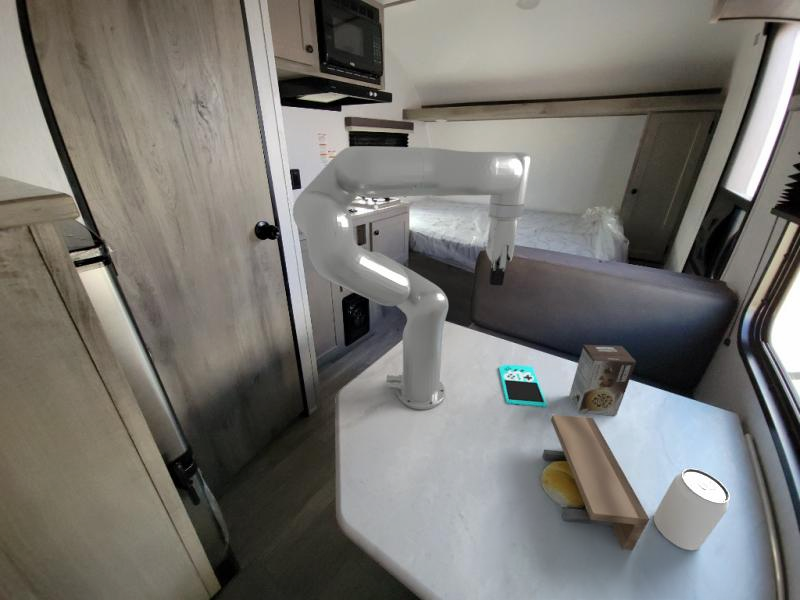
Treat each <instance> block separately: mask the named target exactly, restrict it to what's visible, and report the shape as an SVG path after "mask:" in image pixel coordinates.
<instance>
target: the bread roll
mask: <svg viewBox="0 0 800 600" xmlns="http://www.w3.org/2000/svg"><path fill="white" fill-rule="evenodd" d="M540 483H541V486H542V488H543V491H544V493H546V495H548V497H550V498H551V500H552V501H554V502H555V503H556V504H558V505H559V506H560V507H562V508H563V509H564V508H568V509H577V510H579V509H581V508H583V507H586V506H585V504H584V501H583V499H582V496H581V494H580V491H579V489H578V486H577V484H576V481H575V479H574V476H573V474H572V472H571V469H570V467H569V464H568V462H567V461H552V462H551V463H549V464H548V465H547V466H546V467H545V468H544V469H543V472H542V473H541V477H540Z"/></svg>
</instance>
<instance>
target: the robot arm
mask: <svg viewBox="0 0 800 600" xmlns="http://www.w3.org/2000/svg"><path fill="white" fill-rule="evenodd" d="M531 162H532V159H531V156H530V154H529V153H527V152H519V151H518V152H517V151H513V152H510V151H508V152H507V151H506V152H505V151H463V150H455V149H447V148H441V147H439V148H438V147H422V146H421V147H417V146H416V147H415V146H413V147H412V146H411V147H409V146H407V147H405V146H378V145H377V146H369V145H367V146H366V145H365V146H363V145H362V146H359V145H358V146H357V145H355V146H348V147H345V148H344V149H342V150H341V151H339V152H338V153H337V154H336V155H335V156H334V157H333V158H332V159H331V160H330V161H329V162H328V164H326V166H325V167H324V168H322V169H321V171H320V172H319V173H318V174H317V175H316V176H315V177H314V178H313V179H312V181H311V182H310V183H309V184H308V185H307V186H305V188H304V189H303V190H302V192H301V193H300V194H299V195H298V196H297V198H296V199H295V201H294V204H293V207H292V217H293V221H294V223H295V225H296V227H297V228H298V229H299V230H300V231H301V232H302V233H303V234H304V235H305V240H306V244H307V251H308V257H309V259H310V261H311V264H312V266H313V267H314V269H315V270H316V271H317V273H318V274H319V275H320V276H321V277H323V278H324V279H325V280H328V281H330V282H331V283H334V284H336V285H338V286H340V287H343V288H344V289H347V290H348V291H351V292H353V293H355V294H357V295H359V296H361V297H364V298H366V299H368V300H370V301H372V302H374V303H377V304H378V305H381V306H384V307H385V306H386V307H395V306H396V307H397V308H398V309H399V310H401V312H403V313H404V315H405V316H406V324H405V326H404V328H403V331H402V374H398V375H393V374H391V375H390V374H387V375H386V381H385V382H386V383H389V388H390V389H396V393H397V398H398V399H399V401H400V402H401V403H402V404H403V405H405V406H407V407H409V408H411V409H413V410H414V409H415V410H422V411H424V410H431V409H433V408H436V407H437V406H439V405H441V403H442V402H443V401H444V399H445V394H446V389H445V386H444V384H443V383H442V382H441V381H440V380H441V364H442V351H443V350H442V348H443V346H442V345H443V332H444V327H445V321H446V318H447V314H448V312H449V300H448V297H447V295H446V293H445V292H444V291H443V290H442V288H440V287H439V286H438V285H436V284H435V283H434V282H432V281H430V280H429V279H427V278H425V277H424V276H422V275H421V274H419V273H417V272H415V271H414V270H412V269H411V268H408V267H406V266H405V265H403V264H401V263H399V262H398V261H395V260H394V259H392V258H390V257H388V256H386V255H385V254H383V253H381V252H378V251H369V250H367V249H366V248H363V247H362V246H360V245H359V244H358V243H357V242H356V240H355V237H354V223H353V218H352V216H351V213H350V211H349V209H348V208H349V207H350V205H351V204H352V203H353V202H355V200H356V198H358V196H359V197H362V198H365V199H367V198H368V199H380V198H381V199H382V198H398V197H399V198H402V197H427V196H428V197H429V196H432V197H433V196H435V197H445V196H448V197H449V196H452V197H453V196H490V199H489V208H488V218H490V221H489V222H490V223H489V226H488V227H489V229H488V235H487V240H486V241H487V242H486V248H485V251H486V254H487V258H488V259H489V261H490V262H491V267H490V270H489V280H488V282H489V285H491V286H503V285H504V279H505V274H506V267H507V266H506V265H507V263H511V261H512V259H513V256H514V250H515V243H516V236H517V227H518V220H519V221H520V220H522V218H523V215H524V213H523V212H524V207H525V200H526V193H527V189H528V188H527V187H528V181H529V175H530V169H531Z"/></svg>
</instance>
